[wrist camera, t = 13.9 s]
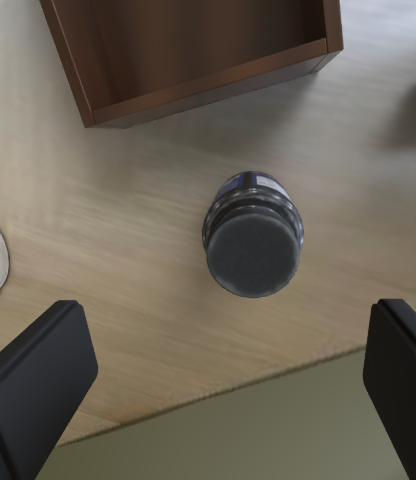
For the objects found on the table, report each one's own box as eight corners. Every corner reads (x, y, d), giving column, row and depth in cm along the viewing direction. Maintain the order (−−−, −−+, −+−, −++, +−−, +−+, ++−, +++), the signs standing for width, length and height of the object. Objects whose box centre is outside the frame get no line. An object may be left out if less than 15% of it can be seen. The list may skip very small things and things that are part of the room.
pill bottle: (222, 244, 26) (204, 316, 16) (209, 177, 24) (177, 210, 14) (292, 234, 25) (320, 304, 15) (283, 162, 23) (308, 187, 13)
